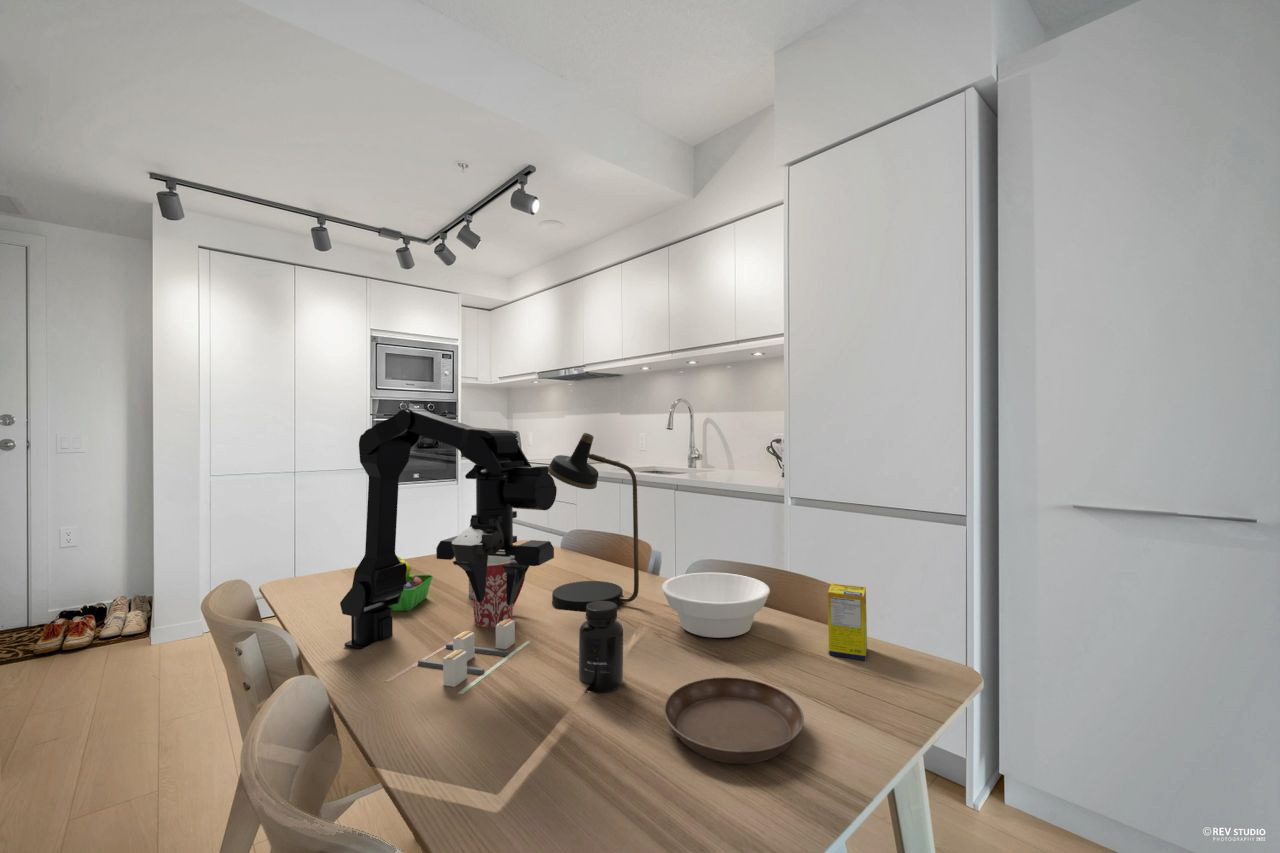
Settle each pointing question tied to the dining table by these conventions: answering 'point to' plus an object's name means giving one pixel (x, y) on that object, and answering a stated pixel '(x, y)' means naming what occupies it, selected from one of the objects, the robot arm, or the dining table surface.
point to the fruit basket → (412, 590)
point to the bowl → (715, 602)
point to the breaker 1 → (455, 668)
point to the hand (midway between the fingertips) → (495, 603)
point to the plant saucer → (734, 719)
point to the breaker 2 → (505, 634)
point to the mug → (494, 595)
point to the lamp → (586, 477)
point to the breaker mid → (465, 643)
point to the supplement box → (847, 621)
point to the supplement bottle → (601, 648)
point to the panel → (469, 669)
